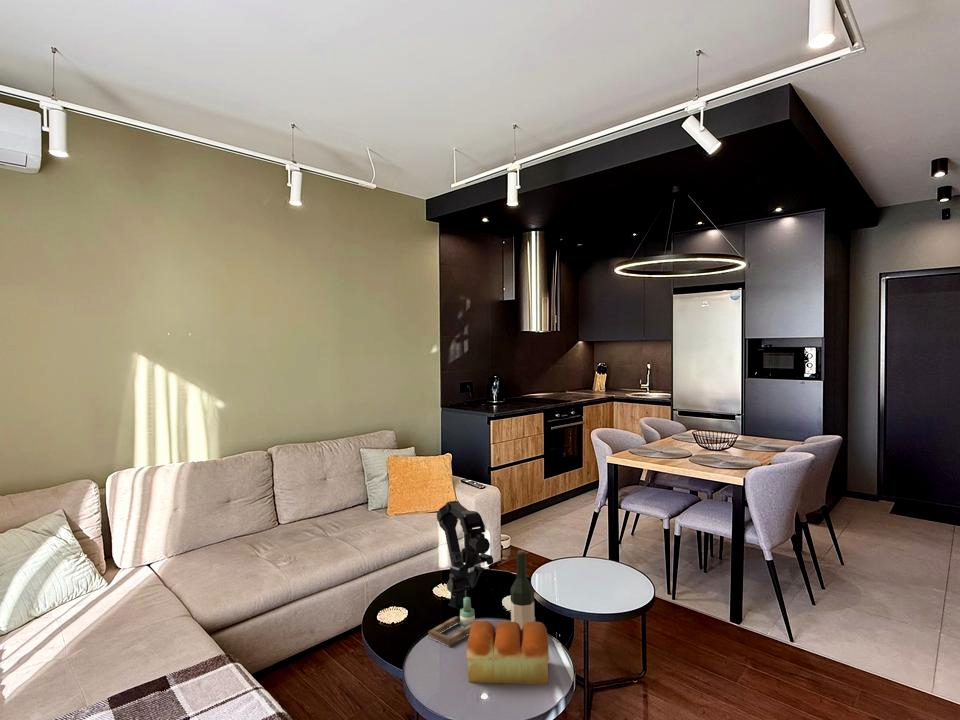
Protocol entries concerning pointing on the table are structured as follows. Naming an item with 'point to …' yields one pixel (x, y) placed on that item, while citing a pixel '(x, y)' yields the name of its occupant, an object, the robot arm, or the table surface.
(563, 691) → the table surface
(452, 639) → the wooden tray
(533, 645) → the bread
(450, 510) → the robot arm
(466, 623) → the bottle
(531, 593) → the wine bottle
